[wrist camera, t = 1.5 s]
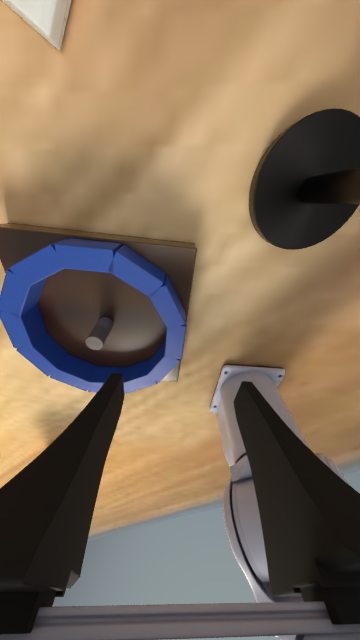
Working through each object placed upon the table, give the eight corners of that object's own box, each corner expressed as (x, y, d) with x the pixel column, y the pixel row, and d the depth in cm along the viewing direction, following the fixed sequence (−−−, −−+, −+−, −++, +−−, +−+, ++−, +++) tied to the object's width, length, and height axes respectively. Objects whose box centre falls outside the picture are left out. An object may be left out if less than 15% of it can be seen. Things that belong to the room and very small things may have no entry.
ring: (176, 380, 22) (176, 396, 20) (46, 372, 21) (33, 389, 19) (194, 250, 14) (196, 258, 12) (-10, 229, 13) (-40, 233, 12)
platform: (177, 368, 24) (177, 405, 20) (54, 361, 23) (26, 397, 19) (195, 243, 16) (201, 258, 12) (8, 223, 15) (-59, 231, 11)
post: (326, 251, 16) (401, 276, 11) (236, 241, 16) (268, 262, 10) (389, 124, 12) (562, 61, 7) (270, 105, 12) (353, 19, 6)
